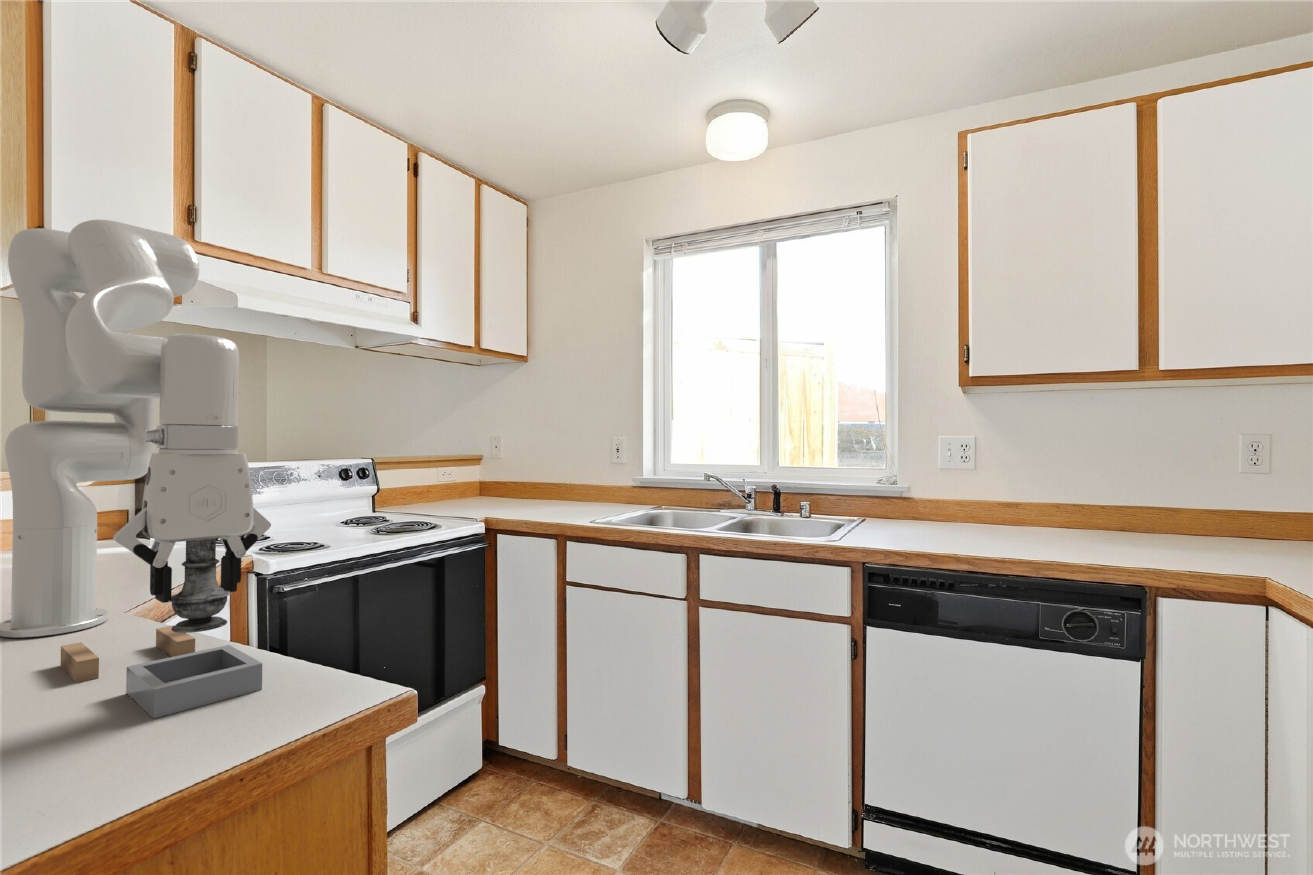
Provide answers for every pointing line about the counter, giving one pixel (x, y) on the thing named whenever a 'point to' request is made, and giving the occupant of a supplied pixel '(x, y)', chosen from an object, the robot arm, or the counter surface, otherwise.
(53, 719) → the counter surface
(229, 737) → the counter surface
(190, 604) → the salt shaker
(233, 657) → the square tray
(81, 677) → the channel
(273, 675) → the counter surface
